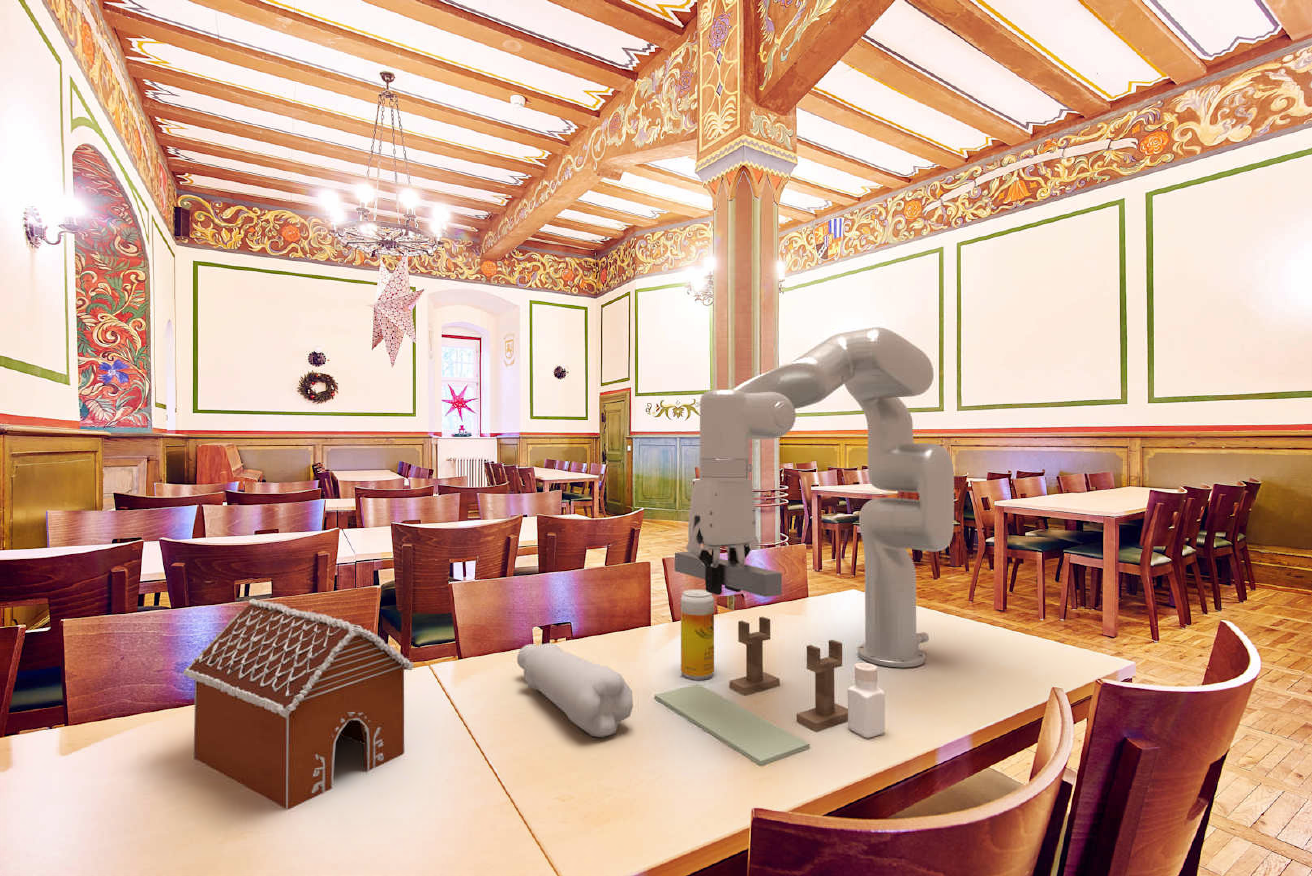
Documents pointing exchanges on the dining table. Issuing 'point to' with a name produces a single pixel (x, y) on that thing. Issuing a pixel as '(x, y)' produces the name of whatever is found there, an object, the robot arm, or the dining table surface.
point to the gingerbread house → (294, 700)
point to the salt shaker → (866, 702)
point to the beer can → (697, 634)
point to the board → (733, 724)
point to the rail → (734, 575)
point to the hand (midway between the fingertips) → (723, 590)
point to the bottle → (578, 687)
